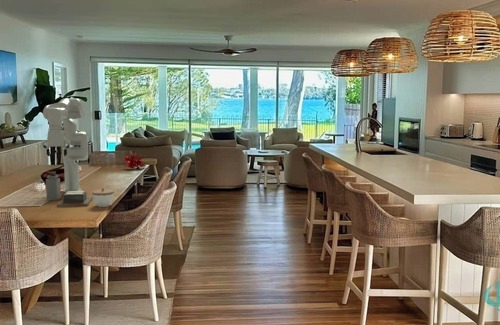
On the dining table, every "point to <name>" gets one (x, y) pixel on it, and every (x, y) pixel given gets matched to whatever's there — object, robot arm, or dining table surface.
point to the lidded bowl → (103, 197)
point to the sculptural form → (133, 161)
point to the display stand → (74, 199)
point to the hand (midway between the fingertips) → (56, 155)
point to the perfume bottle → (53, 187)
